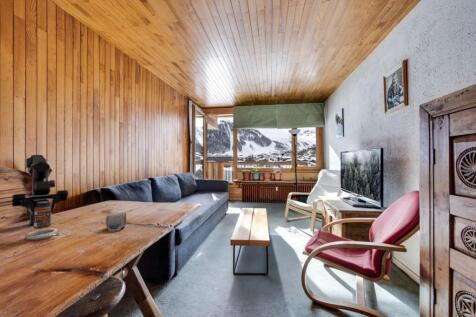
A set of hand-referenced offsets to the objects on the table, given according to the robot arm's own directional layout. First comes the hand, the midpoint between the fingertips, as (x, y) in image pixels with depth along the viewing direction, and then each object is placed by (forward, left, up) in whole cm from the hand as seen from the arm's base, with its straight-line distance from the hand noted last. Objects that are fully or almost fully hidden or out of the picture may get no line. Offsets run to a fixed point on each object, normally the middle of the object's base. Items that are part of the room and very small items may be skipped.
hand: (43, 212), depth 94 cm
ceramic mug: (+10, +27, -11) cm, 31 cm away
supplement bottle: (-1, 0, -7) cm, 7 cm away
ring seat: (-1, 0, -10) cm, 11 cm away
